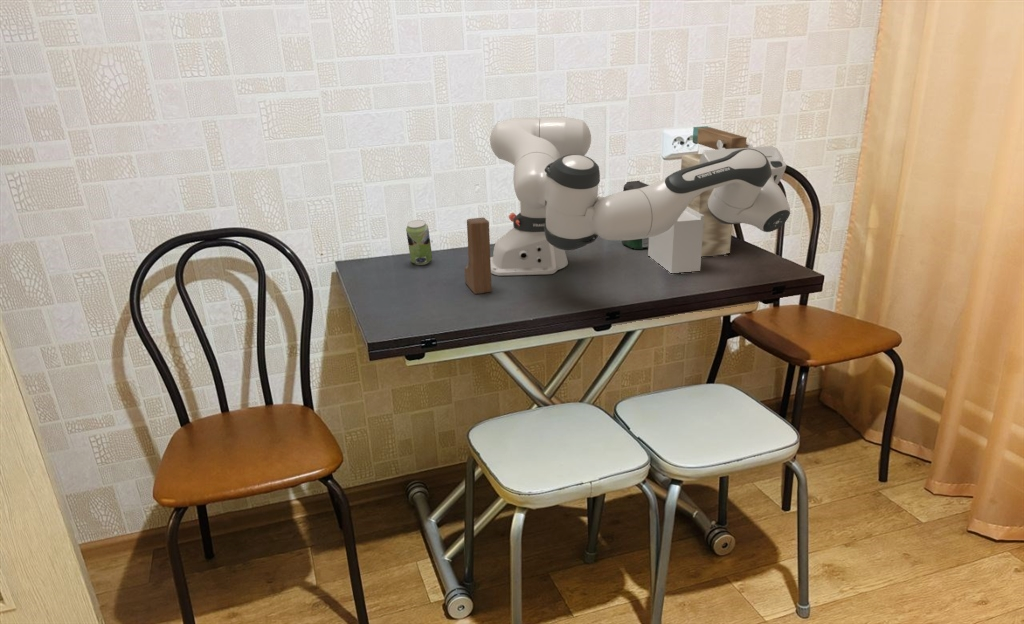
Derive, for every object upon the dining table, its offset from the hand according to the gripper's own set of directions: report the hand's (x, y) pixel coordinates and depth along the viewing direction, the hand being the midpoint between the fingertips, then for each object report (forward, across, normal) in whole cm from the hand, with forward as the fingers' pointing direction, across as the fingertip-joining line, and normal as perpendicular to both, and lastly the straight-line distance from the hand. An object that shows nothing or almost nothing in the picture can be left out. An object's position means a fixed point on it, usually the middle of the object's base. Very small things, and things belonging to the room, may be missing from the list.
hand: (729, 141), depth 191 cm
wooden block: (-18, -67, -27) cm, 74 cm away
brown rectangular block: (+4, 0, -5) cm, 7 cm away
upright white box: (-15, -13, -28) cm, 35 cm away
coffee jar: (+2, -16, -38) cm, 41 cm away
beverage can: (+2, -79, -39) cm, 88 cm away
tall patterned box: (-7, 0, -33) cm, 34 cm away
